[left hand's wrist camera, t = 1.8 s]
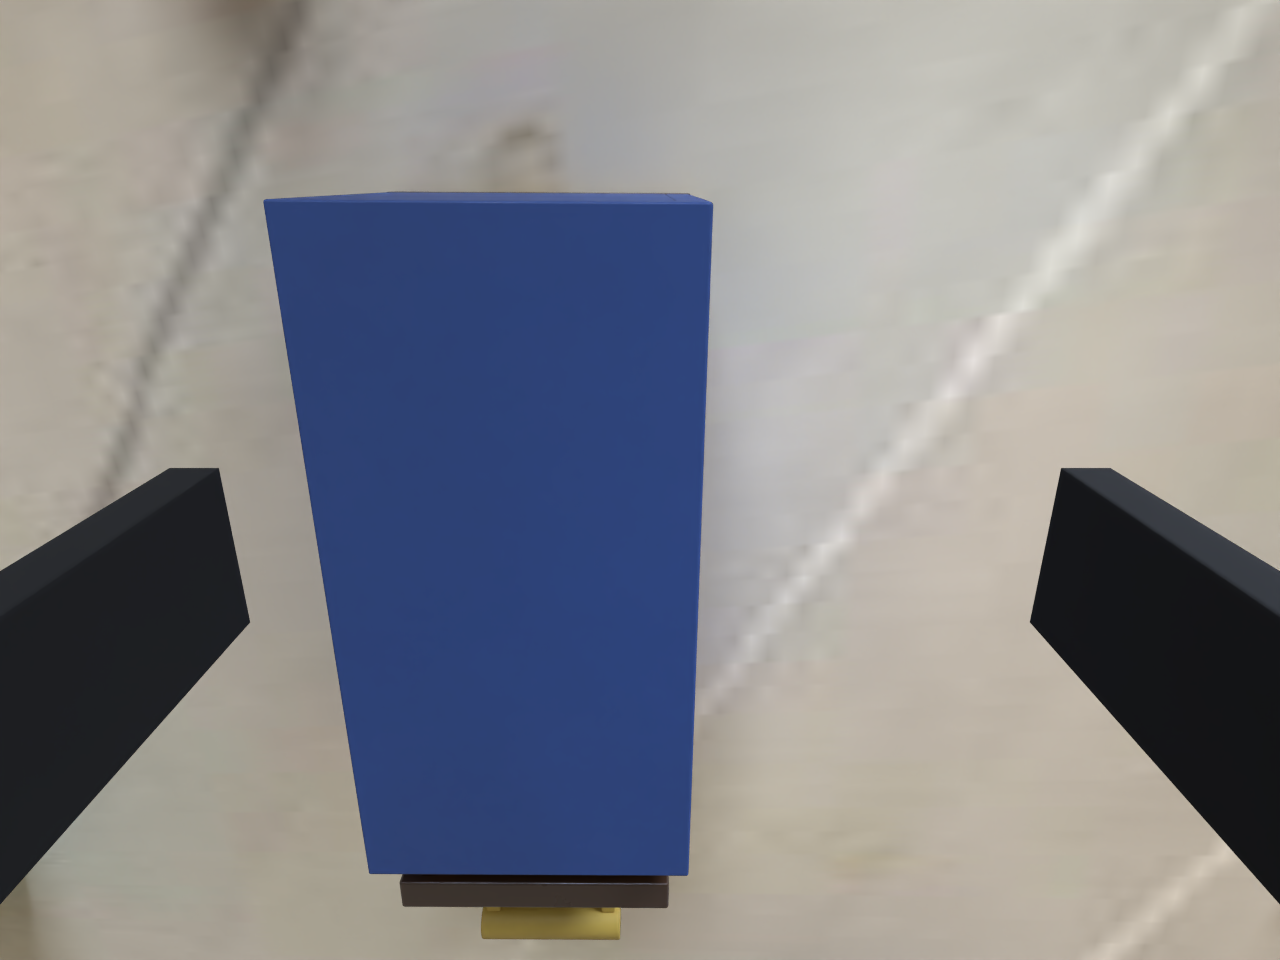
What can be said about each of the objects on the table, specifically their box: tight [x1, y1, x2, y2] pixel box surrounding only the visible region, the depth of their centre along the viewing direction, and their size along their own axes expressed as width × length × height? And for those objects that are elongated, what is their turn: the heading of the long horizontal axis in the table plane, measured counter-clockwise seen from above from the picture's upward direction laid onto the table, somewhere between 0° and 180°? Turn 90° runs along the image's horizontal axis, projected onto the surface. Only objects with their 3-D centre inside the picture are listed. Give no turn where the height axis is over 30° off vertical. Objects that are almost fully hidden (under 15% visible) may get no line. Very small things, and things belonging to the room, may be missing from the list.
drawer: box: [400, 874, 669, 940], centre depth 30 cm, size 26×10×9 cm, turn 0°
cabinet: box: [264, 192, 713, 876], centre depth 28 cm, size 22×11×11 cm, turn 0°
